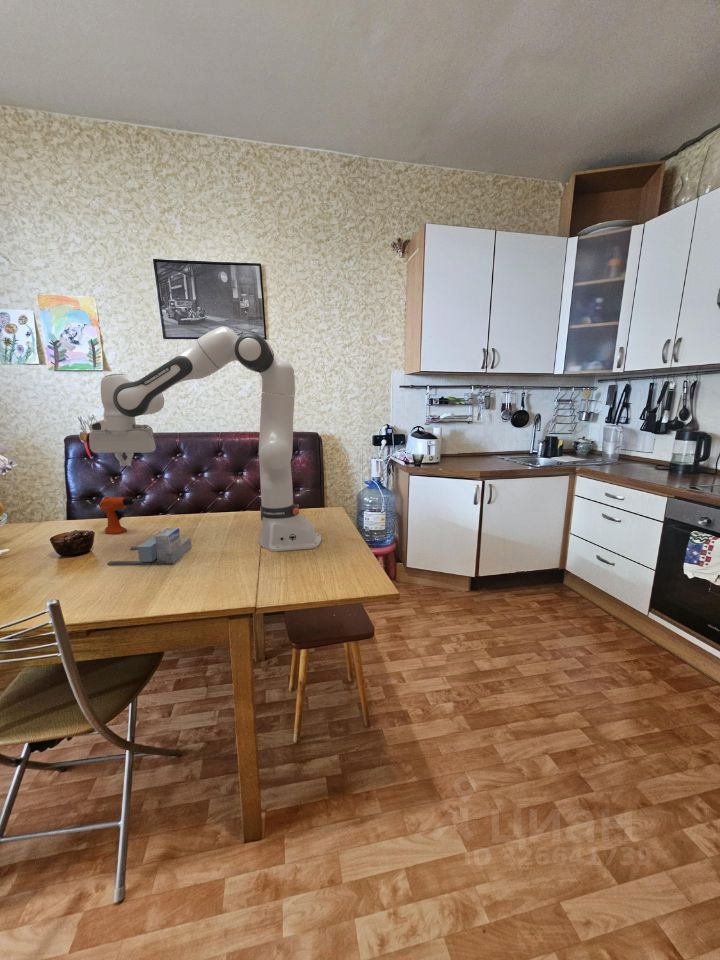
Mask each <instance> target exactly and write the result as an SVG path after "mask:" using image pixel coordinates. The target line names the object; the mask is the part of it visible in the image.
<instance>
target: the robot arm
mask: <svg viewBox="0 0 720 960" xmlns="http://www.w3.org/2000/svg"><path fill="white" fill-rule="evenodd" d="M234 361H236V362H237V361H238V362H239V363H240V364H241V365H242V366H243V367H244V368H246V369H247V370H249V371H251V372H255V373H259V375H260V376H261V383H262V384H261V385H262V386H261V397H260V398H261V402H260V419H259V436H258V437H259V439H258V459H259V463H258V464H259V479H260V482H259V483H260V499H261V500H260V501H261V505H260V510H259V512H260V513H259V514H260V521H261V530H260V537H259V541H258V544H259V546H261V547H263V548H265V549H268V550H269V551H270V552H282V551H283V552H284V551H295V550H308V549H309V550H310V549H311V550H312V549H316V548H317V547H319V546H320V545H321V544H322V535H321V534H320V533H319V532H316V529H315V525H314V523H313V522H312V521H311V520H310V519H308V518H306V517H305V516H304V515H302V514H301V513H300V507H299V505H300V504H295V503H294V499H293V498H294V495H293V494H294V493H293V492H294V491H293V476H292V464H291V460H292V458H293V444H294V442H293V441H294V411H295V396H296V377H295V370H294V368H293V365H291V363H289V362H287V361H284V360H282V359H281V360H280V359H277V358H275V353H274V350H273V349H272V347H271V345H270V343H269V342H268V341H267V340H266V339H265V338H263V337H262V336H261V335H259V334H258V333H255V332H246V333H244V334H242V335H240V336H238V334H237V333H236V332H235V330H233V329H231V328H230V327H228V326H220V327H217V328H214V329H212V330H210V331H208V332H206V333H205V334H203V335H202V336H200V337H199V338H197V339H196V340H194V341H193V342H192V343H191V344H189V345H188V346H186V347H185V348H184V349H183V350H182V351H180V352H179V353H178V354H176V355H175V356H174V357H173V358H171V359H170V360H169V361H167V362H165V363H164V364H162V365H160V366H159V367H158V368H156V369H154V370H152V371H151V372H150V373H148V374H146V375H145V376H144V377H142V378H140V379H138V380H135V379H133V378H132V377H130V376H129V375H128V374H124V373H117V374H116V373H114V374H113V373H112V374H109V375H105V376H103V377H102V378H101V380H100V399H101V404H102V407H103V419H101V420H99V421H96V422H93V423H90V424H89V425H88V429H89V430H90V432H89V436H88V437H89V438H88V439H89V440H88V441H89V448H90V451H91V452H93V453H95V454H96V453H99V454H100V453H103V454H104V453H110V454H111V453H113V454H114V456H115V458H116V459H117V461H119V462H118V463H119V466H120V467H130V466H131V465H132V459H133V457H134V454H135V453H137V454H138V453H143V454H145V453H153V452H155V450H156V443H155V438H154V431H153V428H152V427H151V426H150V425H148V424H137V423H136V417H139V416H146V415H153V414H156V413H158V412H160V411H161V410H162V408H163V407H164V405H165V397H164V394H163V392H166V391H167V390H169V389H170V388H172V387H173V386H175V385H177V384H179V383H182V382H186V381H191V380H200V379H204V378H207V377H209V376H211V375H213V374H215V373H217V372H218V371H220V370H221V369H222V368H224V367H225V366H227V365H228V364H229V363H231V362H234ZM124 453H125V457H126V459H124V457H123V455H124Z"/></svg>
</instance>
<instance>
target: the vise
mask: <svg viewBox="0 0 720 960" xmlns="http://www.w3.org/2000/svg"><path fill="white" fill-rule="evenodd" d="M138 546H139V545H138ZM138 546H137V545H136V546H131V547H130V548H129V549H130V551H138ZM191 548H192V539H191V537H184V538H183V539H180V542H179V543H177V544H176V545H175V546H174V547H172V548H171V549H170V550H169V551H167V552H166V553H165V556H166V561H158V560H154V561H152V562H139V560H111V561H108V562H107V566H174V565H175V564H176V563H177V562H178V561H179V560H180V559H182V558H183V557H184V556H185V555H186V554H188V552H189V551H191V550H192V549H191ZM185 553H186V554H185ZM184 554H185V555H184ZM183 555H184V556H183ZM182 556H183V557H182Z"/></svg>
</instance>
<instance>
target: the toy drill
mask: <svg viewBox="0 0 720 960" xmlns="http://www.w3.org/2000/svg"><path fill="white" fill-rule="evenodd" d="M145 501H146V498H138V499H137V498H135V499H134V498H133V497H123V496H117V497H115V496H105V497H103V498H102V499H101V500H100V502H99V504H98V505H99V508H100V510H101V511H103V512H104V513H105V514H106V517H107V526H106V527H105V529H104V533H105V534H106V535H122V534H125V533H126V532H127V528H126V527H124V526H121V522H120V520H121V519H123V515H121V514H120V512H119V511H117V510H120V509H123V508H125V507H127V506H130V505H133V504H134V503H138V502H145ZM124 532H125V533H124ZM121 533H122V534H121Z"/></svg>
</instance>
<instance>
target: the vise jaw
mask: <svg viewBox="0 0 720 960" xmlns="http://www.w3.org/2000/svg"><path fill="white" fill-rule="evenodd" d="M161 532H162V531H159V532H158V533H156V534H154V535H152V536H151V537H150V538H148V539H147V540H145V541H144V542H142V543H141V544H140V545H138V550H137V553H138V561H139V562H152V561H156V559H158V558H157V549H156V540H155V536H156V535H158V534H159V533H161Z"/></svg>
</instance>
